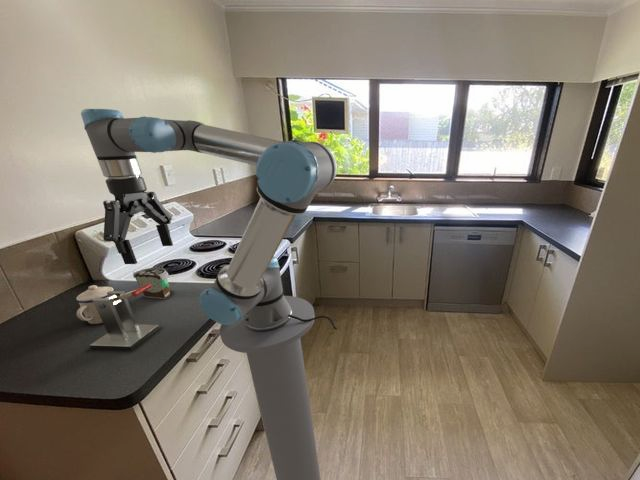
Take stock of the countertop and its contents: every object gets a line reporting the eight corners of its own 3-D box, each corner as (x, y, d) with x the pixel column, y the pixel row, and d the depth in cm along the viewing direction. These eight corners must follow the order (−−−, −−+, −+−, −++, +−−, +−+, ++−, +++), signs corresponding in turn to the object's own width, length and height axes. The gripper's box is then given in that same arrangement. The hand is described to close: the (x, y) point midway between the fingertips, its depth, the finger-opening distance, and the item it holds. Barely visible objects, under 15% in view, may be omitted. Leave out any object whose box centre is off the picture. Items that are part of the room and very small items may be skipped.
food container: (182, 291, 112) (175, 268, 108) (168, 299, 106) (160, 275, 102) (155, 288, 114) (147, 265, 110) (140, 296, 108) (131, 272, 104)
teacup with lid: (103, 309, 100) (90, 280, 95) (130, 308, 100) (118, 279, 96) (70, 331, 89) (53, 298, 84) (100, 330, 89) (85, 297, 85)
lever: (153, 288, 81) (148, 281, 80) (138, 297, 76) (133, 289, 76) (118, 301, 83) (112, 294, 83) (101, 310, 79) (95, 303, 78)
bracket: (159, 328, 90) (144, 287, 84) (131, 350, 80) (112, 305, 75) (123, 327, 90) (105, 286, 85) (91, 349, 81) (69, 304, 75)
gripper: (147, 171, 85) (168, 239, 93) (57, 184, 62) (96, 273, 70) (172, 171, 85) (191, 239, 93) (92, 183, 62) (127, 272, 70)
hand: (151, 254), depth 81 cm, fingers open, 13 cm apart
